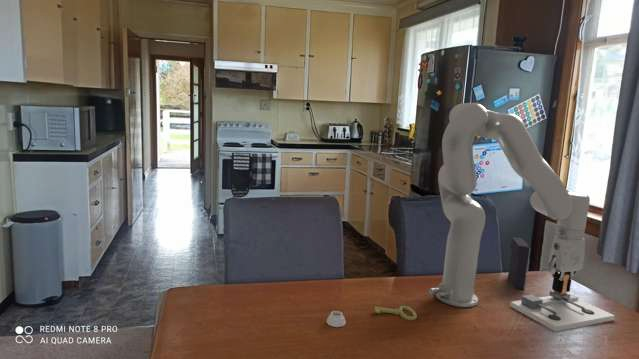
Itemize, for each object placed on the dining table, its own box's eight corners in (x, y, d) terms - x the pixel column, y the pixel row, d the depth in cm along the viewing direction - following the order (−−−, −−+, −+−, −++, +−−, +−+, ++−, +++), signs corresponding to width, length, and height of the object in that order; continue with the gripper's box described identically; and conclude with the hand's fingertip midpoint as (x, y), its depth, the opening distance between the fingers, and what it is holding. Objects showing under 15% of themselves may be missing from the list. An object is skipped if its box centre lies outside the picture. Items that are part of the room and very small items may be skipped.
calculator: (526, 290, 151) (532, 247, 149) (512, 288, 152) (518, 245, 149) (518, 278, 162) (524, 238, 159) (506, 277, 163) (511, 236, 160)
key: (371, 313, 128) (371, 306, 127) (408, 309, 132) (409, 302, 132) (383, 325, 121) (384, 317, 121) (422, 320, 126) (423, 313, 125)
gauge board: (555, 331, 123) (557, 317, 122) (510, 306, 137) (512, 293, 137) (613, 320, 132) (616, 307, 132) (565, 297, 147) (567, 286, 146)
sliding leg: (579, 312, 131) (584, 285, 130) (549, 297, 141) (553, 272, 139) (588, 310, 133) (593, 283, 132) (558, 296, 142) (562, 270, 141)
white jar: (348, 327, 118) (340, 318, 123) (349, 316, 118) (341, 308, 122) (330, 329, 116) (323, 320, 121) (331, 318, 116) (324, 310, 120)
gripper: (561, 238, 130) (552, 298, 133) (599, 235, 136) (589, 292, 139) (540, 231, 136) (531, 288, 139) (577, 228, 143) (568, 283, 146)
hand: (560, 290), depth 139 cm, fingers closed on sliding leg, 2 cm apart
